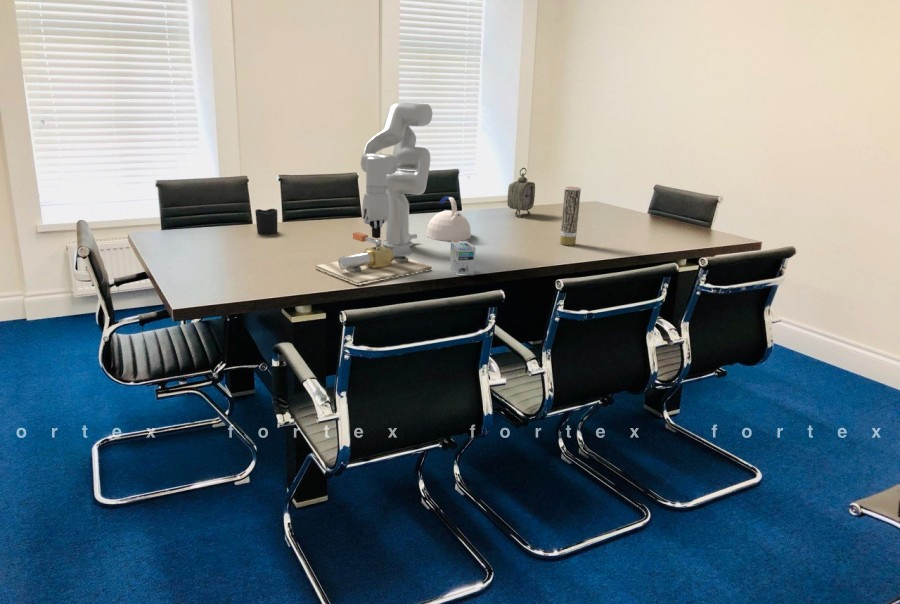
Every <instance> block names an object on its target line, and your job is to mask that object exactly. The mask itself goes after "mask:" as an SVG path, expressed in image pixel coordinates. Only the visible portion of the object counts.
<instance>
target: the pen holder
mask: <svg viewBox="0 0 900 604" xmlns="http://www.w3.org/2000/svg"><path fill="white" fill-rule="evenodd" d="M254 210H255V221H256V230H257V233H258V234H260V235H275V234H277V233H278V209H276V208H269V209H265V210H264V209H260V208H258V209H254Z"/></svg>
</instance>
